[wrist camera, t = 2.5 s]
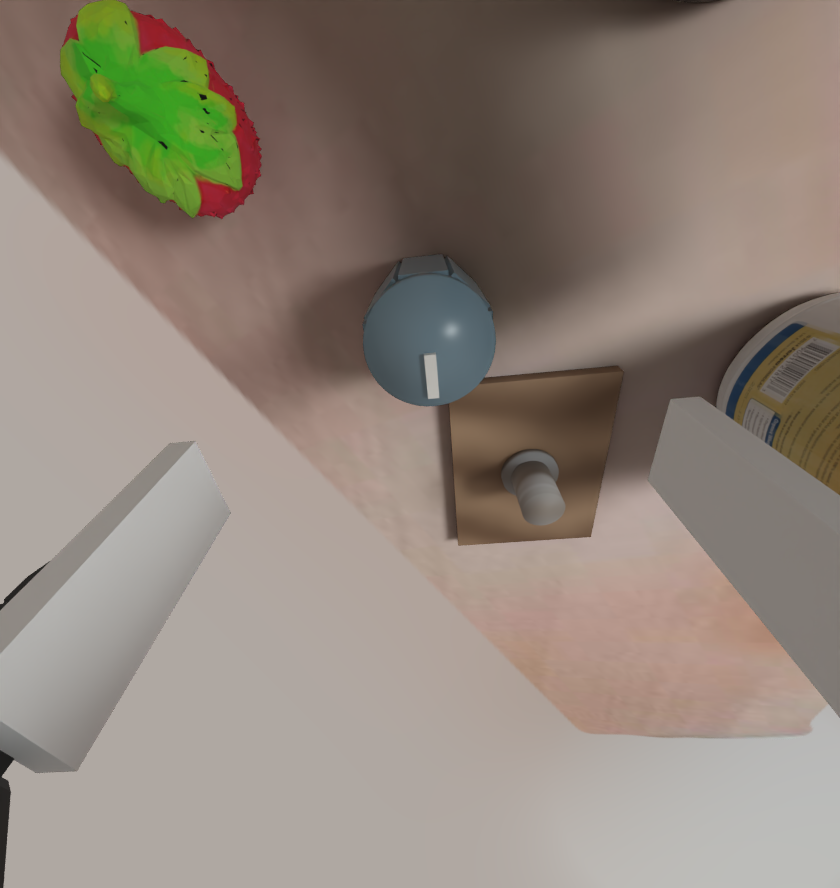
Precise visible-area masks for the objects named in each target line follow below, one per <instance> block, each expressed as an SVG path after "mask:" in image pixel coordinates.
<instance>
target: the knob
mask: <svg viewBox="0 0 840 888" xmlns="http://www.w3.org/2000/svg"><path fill="white" fill-rule="evenodd" d="M364 319H365V320H364V322H363V324H362V325H363V330H364V335H363V348H364V355H365V359H366V362H367V365H368V367H369V370H370V372H371V373H372V375H373V377H374V378H375V380H376V381H377V382H378V383H379V385H380V386H381V387H382V388H383V389H384V390H386V391H387V392H388V393H389V394H391V395H392V396H394V397H396V398H397V399H399V400H402V401H404V402H407V403H410V404H414V405H418V406H438V405H444V404H447V403H451V402H453V401H456V400H458V399H460V398H462V397H464V396H465V395H467V394H468V393H469V392H471V391H472V390H473V389H474V388H475V387H476V386H477V385H478V384H479V383H480V382H481V381H482V380H483V378H484V377H485V375H486V374H487V372H488V370H489V368H490V366H491V363H492V360H493V357H494V353H495V345H496V336H495V328H494V324H493V311H492V309H491V307H490V304H489V302H488V301H487V299H486V298H485V296H484V295H483V293H482V291H481V290H480V288H479V287H478V285H477V284H476V282H475V281H474V280H473V279H472V278H470V277H469V276H468V275H467V274H466V273H465V272H464V271H463V270H462V269H461V268H460V267H459V266H458V265H457V264H456V263H454V262H453V261H452V260H451V259H450V258H449V257H448V256H447V257H446V258H445V259H444V257H443V254H438V255H429V256H420V257H411V258H403V260H402V263H400V262H399V261H398V262H397V264H396V265H395V267H394V268H393V269H392V271H391V272H390V274H389V275H388V276H387V278H386V279H385V281H384V282H383V283H382V285H381V286H380V288H379V289H378V290H377V292H376V293H375V295H374V297H373V300H372V302H371V304H370V306H369V308H368V310H367V312H366V314H365V317H364Z"/></svg>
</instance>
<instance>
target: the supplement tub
mask: <svg viewBox="0 0 840 888" xmlns="http://www.w3.org/2000/svg"><path fill="white" fill-rule="evenodd" d="M716 408H717V409H718V410H720V411H721V412H723V413H724V414H725V415H727V416H728V417H730V418H731V419H733V420H734V421H735V422H737V423H738V424H740V425H741V426H742V427H744V428H745V429H747V430H748V431H749V432H751V433H752V434H754V435H755V436H757V437H758V438H759V439H761V440H762V441H764V442H765V443H766V444H768V445H769V446H771V447H772V448H774V449H775V450H776V451H778V452H779V453H781V454H782V455H783V456H785V457H786V458H788V459H789V460H791V461H792V462H793V463H795V464H796V465H798V466H799V467H800V468H802V469H803V470H805V471H806V472H807V473H809V474H810V475H812V476H813V477H815V478H816V479H817V480H819V481H820V482H822V483H823V484H824V485H826V486H827V487H829V488H830V489H832V490H833V491H834V492H836V493H837V494H839V495H840V292H839V293H834V294H830V295H826V296H822V297H819V298H816V299H813V300H810V301H808V302H805V303H803V304H800V305H798V306H796V307H794V308H792V309H790V310H788V311H786V312H785V313H783V314H782V315H780V316H779V317H777V318H776V319H774V320H773V321H771V322H770V323H769V324H767V325H766V326H765V327H764V328H762V329H761V330H760V331H759V332H758V333H757V334H756V335H755V336H754V337H753V338H752V339H751V340H750V341H749V342H748V343H747V344H746V345H745V346H744V347H743V348H742V349H741V350H740V352H739V353H738V354H737V356H736V357H735V358H734V360H733V361H732V363H731V364H730V366H729V368H728V369H727V371H726V373H725V375H724V377H723V380H722V382H721V385H720V388H719V392H718V395H717V403H716Z"/></svg>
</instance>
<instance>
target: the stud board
mask: <svg viewBox="0 0 840 888" xmlns="http://www.w3.org/2000/svg"><path fill="white" fill-rule="evenodd" d="M623 373H624V371H623V370H622V369H621V368H620V367H618V366H610V367H599V368H588V369H577V370H566V371H555V372H544V373H533V374H522V375H511V376H500V377H489V378H483V380H482V381H481V382H480V383H479V384H478V385H477V386H476V387H475V388H474V389H473V390H472V391H471V392H469V393H468V394H467V395H465V396H464V397H462V398H460V399H458V400H456V401H453V402H451V403H449V415H450V430H451V445H452V461H453V476H454V491H455V507H456V522H457V537H458V546H461V545H476V544H491V543H506V542H521V541H536V540H551V539H566V538H581V537H591V533H592V528H593V523H594V518H595V513H596V508H597V503H598V498H599V493H600V488H601V483H602V478H603V473H604V468H605V463H606V458H607V453H608V448H609V443H610V438H611V433H612V428H613V423H614V418H615V413H616V408H617V403H618V398H619V393H620V388H621V383H622V378H623Z"/></svg>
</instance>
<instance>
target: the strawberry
mask: <svg viewBox="0 0 840 888" xmlns="http://www.w3.org/2000/svg"><path fill="white" fill-rule="evenodd" d="M60 68H61V75H62V76H63V77H64V79H65V81H66V82H67V84H68V85H69V87H70V89H71V90H72V92H73V94H74V95H73V96H72V98H73V99H75V100H76V101H77V102H76V109H77V113H78V116H79V120H80V123H81V125H82V126H83V127H85V128H88V129H90V130H92V131H93V132H94V134H95V136H96V138H97V139H98V141H99V142H100V145H103V147H104V149H105V150H106V152H107V153H108V154H109V156H110V157H111V159H112V160H113V161H114V163H116V164H117V165H119V166H126V167H127V168H128V169H129V171H130V173H131V174H133V175H134V176H135V177H136V179H137V181H138V183H140V184H141V186H142V187H143V188H144V190H145V191H146V192H148V193H150V194H152V195H154V196H156V197H157V198H158V199H159V201H160V202H161V203H166V201H167V200H169V201H173V202H174V203H176V204H177V205H178V206H179V209H180V210H184V211H185V212H186V213H187V214H188V215H189V216H191V217H192V218H194V217H195V216H197V215H199V216H201V217H202V216H204V215H209V216H213V217H215V216H217V217H219V218H221V219H222V218H223V217H224V216H225V215H227V214H229V213H231V212H234V211H235V209H236V208H237V207H238V206H239V205H244V200H245V198H246V197H247V196H248V195H250V194H254V193H253V187H254V185H256V180H257V178H258V177H260V176H261V174H260V170H259V169H260V167H261V162H260V159H261V157H262V156H261V154H260V153H259V151H260V150H261V148H260V146H259V145H258V141H259V140H260V138H258V137H257V136H256V133H257V132H256V131H255V128H254V127H253V123H254V122H252V121H251V120H250V119H248V117H247V115H246V112H245V111H244V103H242V102H240V101H239V100H238V96H237V95H234V91H233V87H232V86H230V85H228V84H227V83H225V82H224V80H223V79H222V78H221V77H220V75H219V74H218V73H217V72H216V70H215V68H214V64H213V62H211V61H209V60H207V59H205V58H204V56H203V54H202V52H201V50H197V49H195V47H194V46H193V45H192V43H191V41H190V40H189V39H185V38H184V36H183V35H182V34H181V33H180V32H179V30H178V29H177V28H176V27H175V28H173V29H172V28H170V27H169V26H168V25H167V24H166V23H165V22H164V21H163V19H155V18H154V17H153V16H152V15H143V14H140V13H137V12H133V11H130V10H129V8H128V7H127V5H126V4H125V3H122V2H119V1H117V0H102V1H97V2H93V3H89V4H87V5H86V6H85V7H83V8H82V9H81V10H79V14H78V15H76V17H75V18H72V19H71V24H70V26H69V27H68V31H67V34H66V38H65V41H64V44H63V46H62V48H61V50H60Z"/></svg>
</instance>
